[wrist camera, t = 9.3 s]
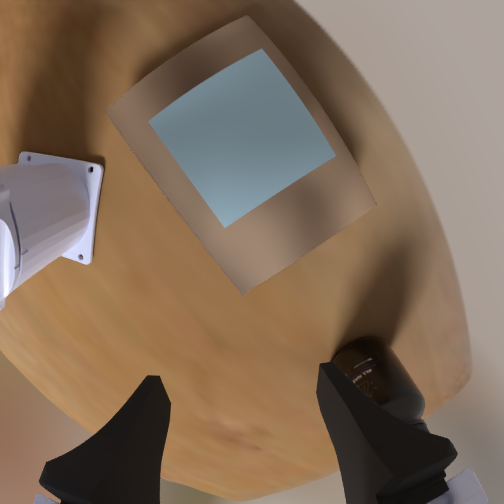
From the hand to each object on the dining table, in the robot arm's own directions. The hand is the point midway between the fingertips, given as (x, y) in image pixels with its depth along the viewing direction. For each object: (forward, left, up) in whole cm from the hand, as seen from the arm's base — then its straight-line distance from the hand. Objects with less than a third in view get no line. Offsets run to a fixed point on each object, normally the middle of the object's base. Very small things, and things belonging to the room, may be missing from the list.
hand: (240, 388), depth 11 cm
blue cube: (-3, +10, -6) cm, 12 cm away
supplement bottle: (+14, -5, -11) cm, 18 cm away
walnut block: (-2, +10, -10) cm, 14 cm away
